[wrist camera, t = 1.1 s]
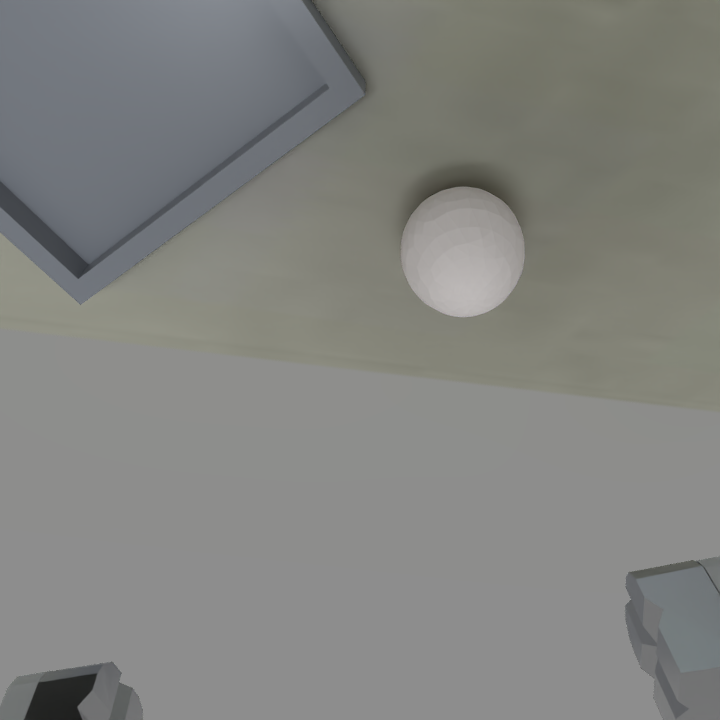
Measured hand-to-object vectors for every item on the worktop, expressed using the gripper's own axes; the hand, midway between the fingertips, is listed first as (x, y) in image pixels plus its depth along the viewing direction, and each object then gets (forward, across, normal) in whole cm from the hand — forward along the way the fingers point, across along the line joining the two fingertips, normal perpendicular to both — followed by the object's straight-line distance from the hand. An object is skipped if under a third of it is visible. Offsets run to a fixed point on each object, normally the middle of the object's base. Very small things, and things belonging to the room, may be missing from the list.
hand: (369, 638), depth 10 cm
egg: (+29, -6, +6) cm, 30 cm away
